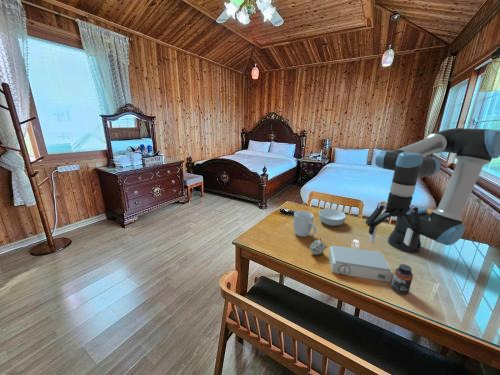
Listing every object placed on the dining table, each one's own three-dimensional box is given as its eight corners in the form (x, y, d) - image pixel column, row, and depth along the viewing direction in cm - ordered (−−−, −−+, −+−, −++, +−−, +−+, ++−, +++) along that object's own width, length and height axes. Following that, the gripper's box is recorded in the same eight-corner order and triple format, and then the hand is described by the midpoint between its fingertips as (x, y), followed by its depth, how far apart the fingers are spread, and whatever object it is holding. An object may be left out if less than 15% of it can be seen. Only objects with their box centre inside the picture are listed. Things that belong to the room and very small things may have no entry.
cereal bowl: (314, 217, 154) (316, 208, 152) (338, 217, 154) (339, 208, 152) (322, 229, 138) (323, 218, 136) (348, 229, 138) (350, 219, 136)
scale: (380, 262, 107) (382, 251, 105) (391, 283, 93) (394, 271, 91) (328, 254, 112) (330, 244, 110) (331, 273, 98) (333, 262, 97)
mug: (320, 238, 127) (323, 217, 123) (307, 244, 121) (310, 222, 117) (300, 228, 139) (302, 209, 135) (288, 232, 133) (290, 213, 129)
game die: (319, 262, 112) (328, 255, 104) (303, 254, 113) (312, 247, 105) (322, 246, 118) (331, 239, 110) (307, 240, 118) (315, 232, 110)
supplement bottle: (401, 284, 93) (407, 262, 89) (411, 295, 87) (419, 272, 84) (387, 284, 93) (393, 262, 89) (397, 295, 87) (403, 272, 83)
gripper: (429, 192, 85) (415, 240, 92) (363, 188, 88) (353, 235, 94) (443, 199, 78) (427, 250, 85) (370, 194, 81) (360, 244, 87)
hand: (388, 242), depth 90 cm, fingers open, 13 cm apart
